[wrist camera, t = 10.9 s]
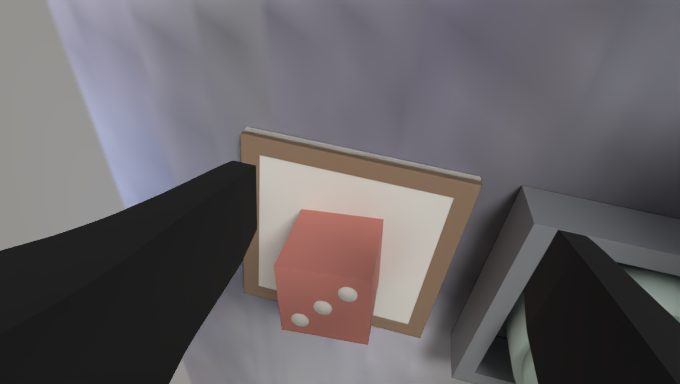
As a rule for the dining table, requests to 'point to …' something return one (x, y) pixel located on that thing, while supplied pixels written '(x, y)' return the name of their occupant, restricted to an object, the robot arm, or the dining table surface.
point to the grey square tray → (526, 252)
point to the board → (360, 200)
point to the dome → (664, 288)
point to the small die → (330, 275)
